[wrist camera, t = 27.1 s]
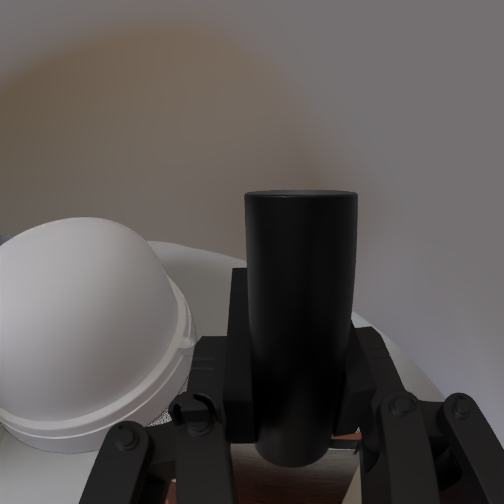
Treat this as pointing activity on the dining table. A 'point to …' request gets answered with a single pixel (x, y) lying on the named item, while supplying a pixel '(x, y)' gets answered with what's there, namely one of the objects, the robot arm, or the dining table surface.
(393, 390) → the robot arm
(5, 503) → the dining table surface
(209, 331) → the dining table surface
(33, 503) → the dining table surface
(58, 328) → the dome cover
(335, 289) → the knife
